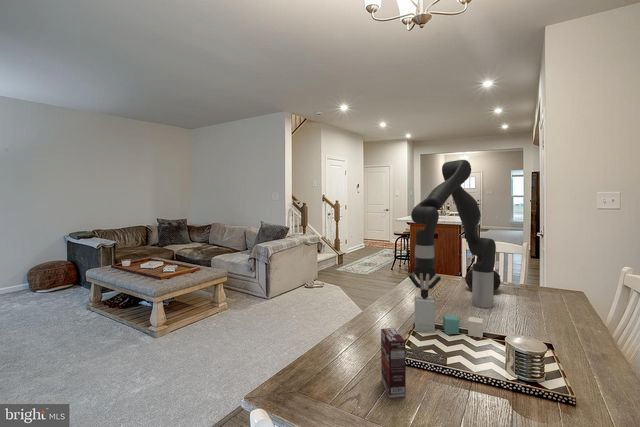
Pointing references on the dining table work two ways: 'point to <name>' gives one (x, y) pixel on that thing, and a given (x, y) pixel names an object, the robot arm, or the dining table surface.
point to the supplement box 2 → (424, 314)
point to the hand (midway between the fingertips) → (424, 298)
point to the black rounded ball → (470, 277)
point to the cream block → (475, 326)
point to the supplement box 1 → (393, 362)
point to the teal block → (450, 324)
